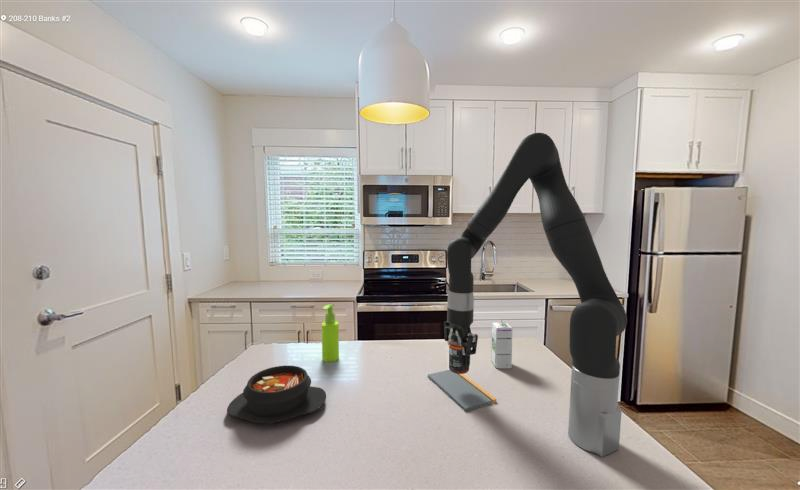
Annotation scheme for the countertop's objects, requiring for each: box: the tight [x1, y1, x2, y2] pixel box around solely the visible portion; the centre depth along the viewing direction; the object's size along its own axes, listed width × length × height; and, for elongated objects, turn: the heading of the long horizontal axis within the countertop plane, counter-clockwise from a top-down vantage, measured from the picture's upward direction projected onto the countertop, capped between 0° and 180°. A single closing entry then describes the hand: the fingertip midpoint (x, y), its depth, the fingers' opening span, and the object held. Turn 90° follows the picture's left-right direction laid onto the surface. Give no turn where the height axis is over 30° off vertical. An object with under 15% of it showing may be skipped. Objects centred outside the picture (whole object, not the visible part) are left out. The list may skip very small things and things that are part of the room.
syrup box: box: [490, 321, 513, 370], centre depth 110 cm, size 6×6×14 cm
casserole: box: [226, 365, 327, 424], centre depth 84 cm, size 25×19×8 cm
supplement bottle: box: [448, 332, 470, 375], centre depth 93 cm, size 6×6×11 cm
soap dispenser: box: [321, 303, 340, 363], centre depth 114 cm, size 6×7×20 cm
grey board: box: [427, 369, 497, 412], centre depth 95 cm, size 20×11×1 cm, turn 25°
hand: (458, 361), depth 93 cm, fingers closed on supplement bottle, 6 cm apart
